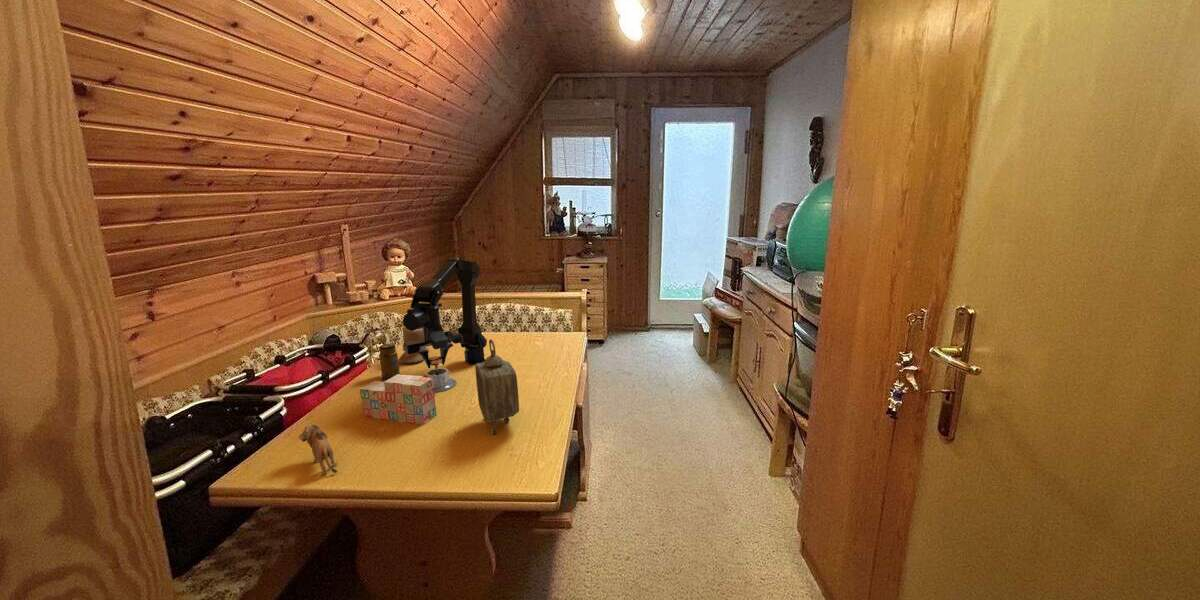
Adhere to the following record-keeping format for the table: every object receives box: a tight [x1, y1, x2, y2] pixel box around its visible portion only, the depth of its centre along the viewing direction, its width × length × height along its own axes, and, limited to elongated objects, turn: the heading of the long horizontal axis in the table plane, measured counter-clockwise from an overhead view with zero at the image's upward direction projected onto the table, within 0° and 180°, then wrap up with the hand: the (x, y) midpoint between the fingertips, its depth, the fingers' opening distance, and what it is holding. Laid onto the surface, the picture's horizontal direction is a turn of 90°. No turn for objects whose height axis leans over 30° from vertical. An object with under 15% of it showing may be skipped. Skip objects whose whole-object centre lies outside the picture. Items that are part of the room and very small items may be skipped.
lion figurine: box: [298, 423, 338, 476], centre depth 117 cm, size 15×5×9 cm, turn 52°
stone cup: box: [398, 325, 431, 364], centre depth 191 cm, size 15×12×15 cm
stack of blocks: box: [359, 374, 437, 426], centre depth 141 cm, size 21×6×12 cm, turn 73°
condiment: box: [377, 343, 401, 382], centre depth 172 cm, size 7×8×12 cm
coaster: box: [434, 377, 457, 394], centre depth 164 cm, size 12×12×1 cm
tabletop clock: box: [474, 339, 520, 435], centre depth 133 cm, size 14×9×25 cm, turn 23°
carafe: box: [422, 367, 451, 389], centre depth 163 cm, size 10×8×5 cm
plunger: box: [429, 355, 443, 375], centre depth 163 cm, size 5×5×8 cm
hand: (436, 366), depth 163 cm, fingers closed on plunger, 4 cm apart
